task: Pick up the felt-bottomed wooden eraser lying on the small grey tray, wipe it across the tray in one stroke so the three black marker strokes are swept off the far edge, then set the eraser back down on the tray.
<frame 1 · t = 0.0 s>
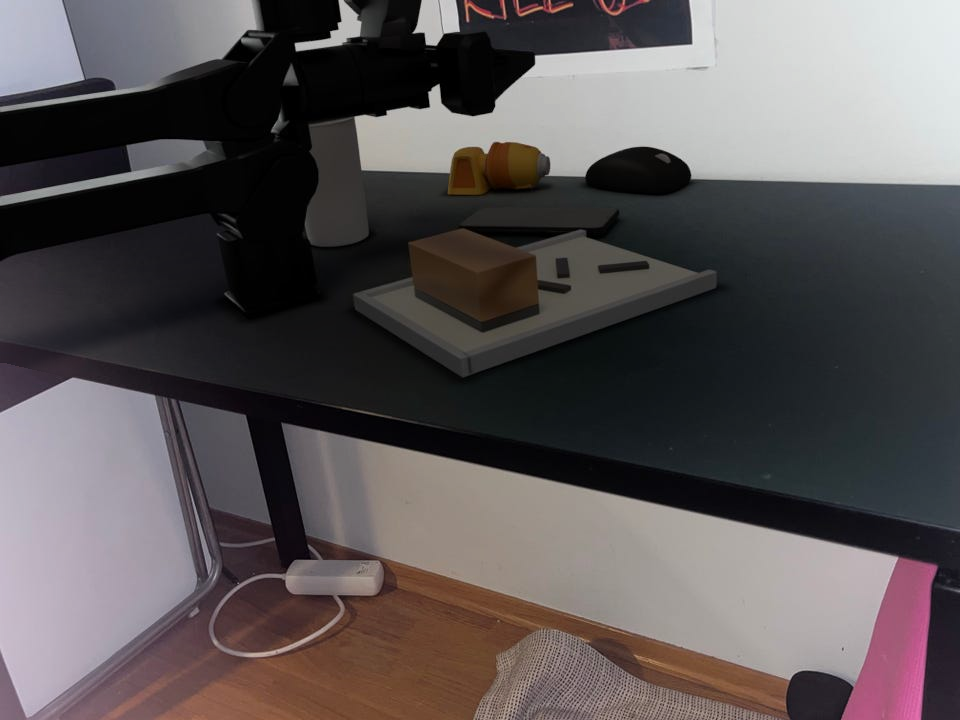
hand: (504, 56, 79), 17 cm above the table, tool horizontal, fingers open, 9 cm apart
grey tray: (534, 298, 69), on the table
computer mouse: (634, 186, 99), on the table
smartphone: (538, 227, 87), on the table
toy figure: (500, 191, 102), on the table
mark 2: (562, 270, 72), point 1 cm above the table, touching grey tray
mark 3: (623, 269, 70), point 1 cm above the table, touching grey tray
mug: (327, 238, 90), on the table
eraser: (474, 305, 66), point 1 cm above the table, touching grey tray
mark 1: (546, 288, 68), point 1 cm above the table, touching grey tray
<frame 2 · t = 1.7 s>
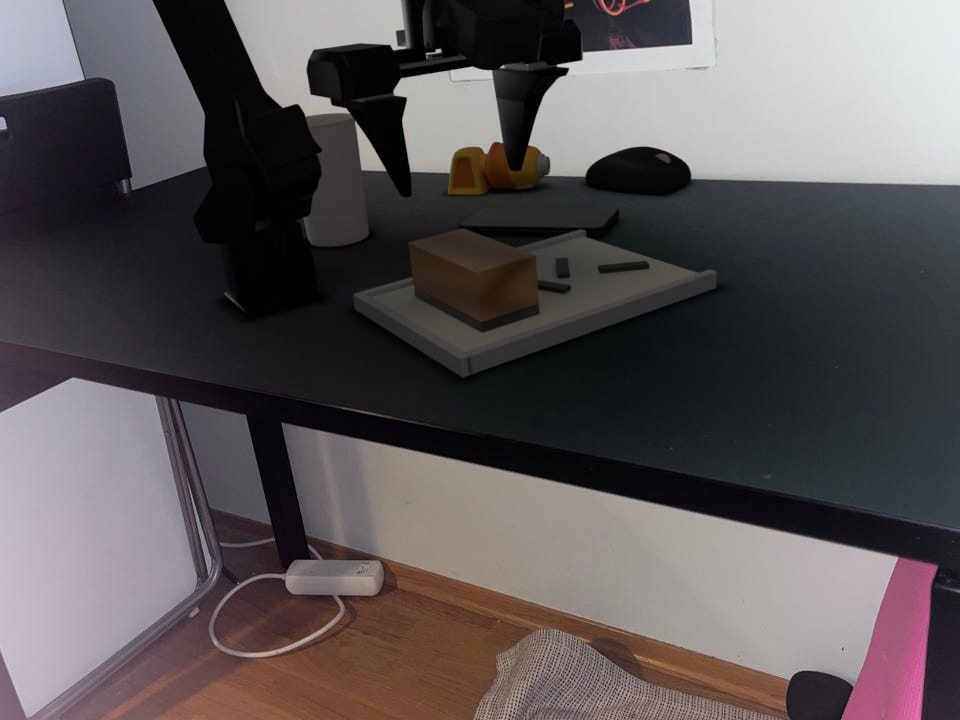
hand: (462, 183, 62), 10 cm above the table, tool pointing down, fingers open, 9 cm apart
nothing on the table moved.
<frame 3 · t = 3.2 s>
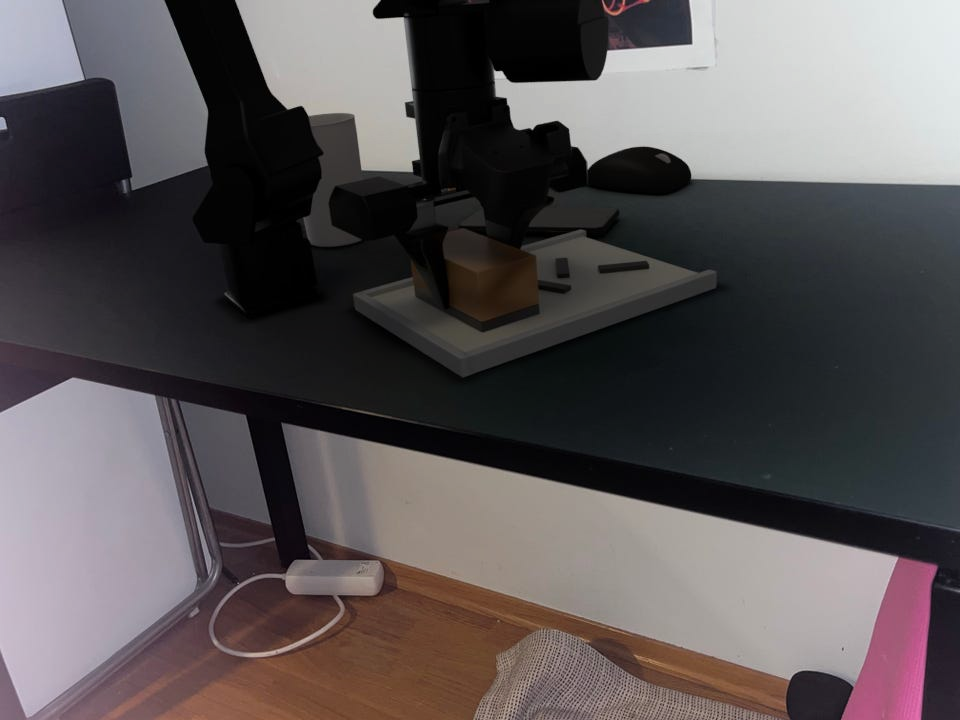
hand: (473, 298, 66), 2 cm above the table, tool pointing down, fingers closed on eraser, 5 cm apart
eraser: (474, 305, 66), point 1 cm above the table, touching gripper, grey tray
everything else where it was.
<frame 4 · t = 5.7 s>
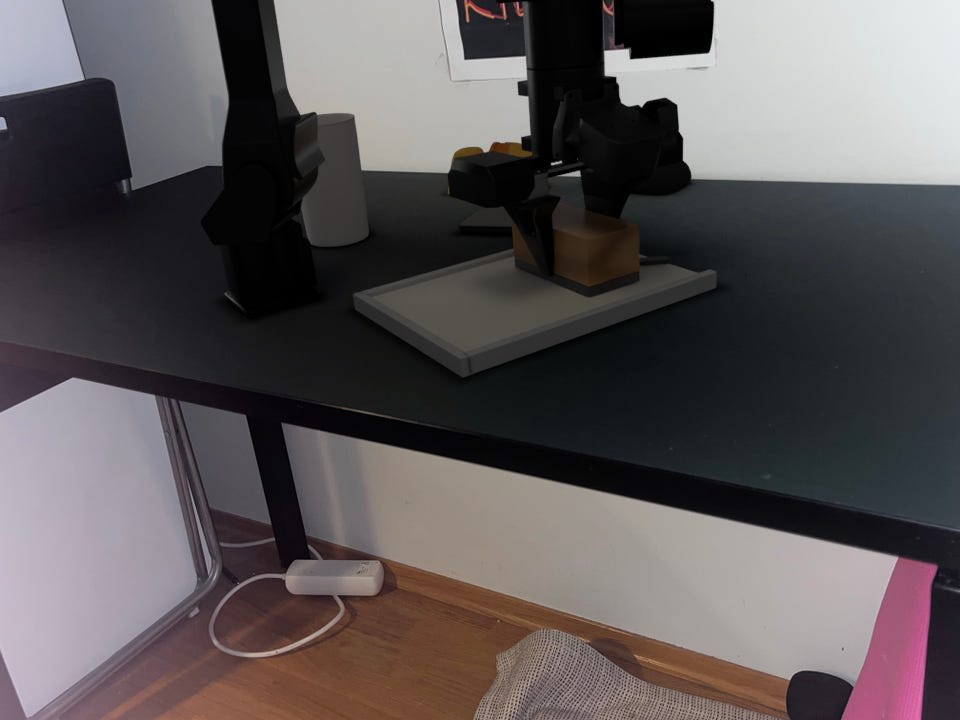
hand: (574, 267, 70), 2 cm above the table, tool pointing down, fingers closed on eraser, 5 cm apart
mark 2: (595, 257, 74), point 1 cm above the table, touching mark 1
mark 3: (642, 263, 71), point 1 cm above the table
eraser: (574, 273, 70), point 1 cm above the table, touching gripper, mark 1
mark 1: (613, 268, 71), point 1 cm above the table, touching eraser, mark 2
everything else where it was.
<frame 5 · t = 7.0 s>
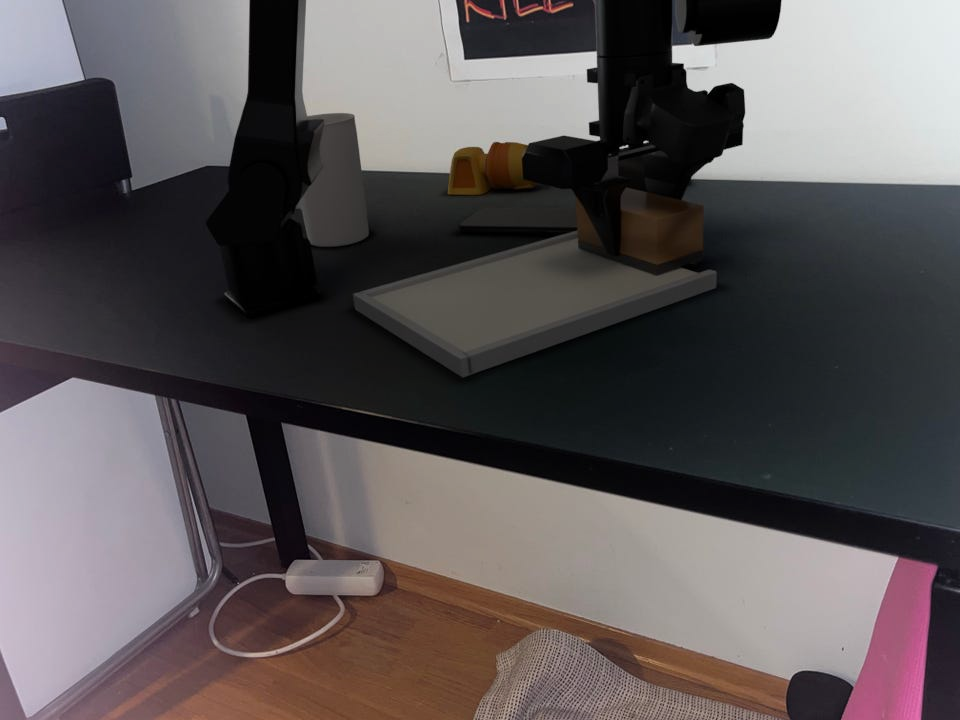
hand: (637, 248, 73), 2 cm above the table, tool pointing down, fingers closed on eraser, 5 cm apart
mark 2: (628, 251, 76), on the table, tilted 90°
mark 3: (674, 259, 74), on the table, tilted 180°
eraser: (638, 253, 73), point 1 cm above the table, touching gripper
mark 1: (658, 267, 73), on the table
everything else where it was.
when the fingers open (1 cm above the table, at t = 12.7 s): eraser stays where it is, resting on grey tray.
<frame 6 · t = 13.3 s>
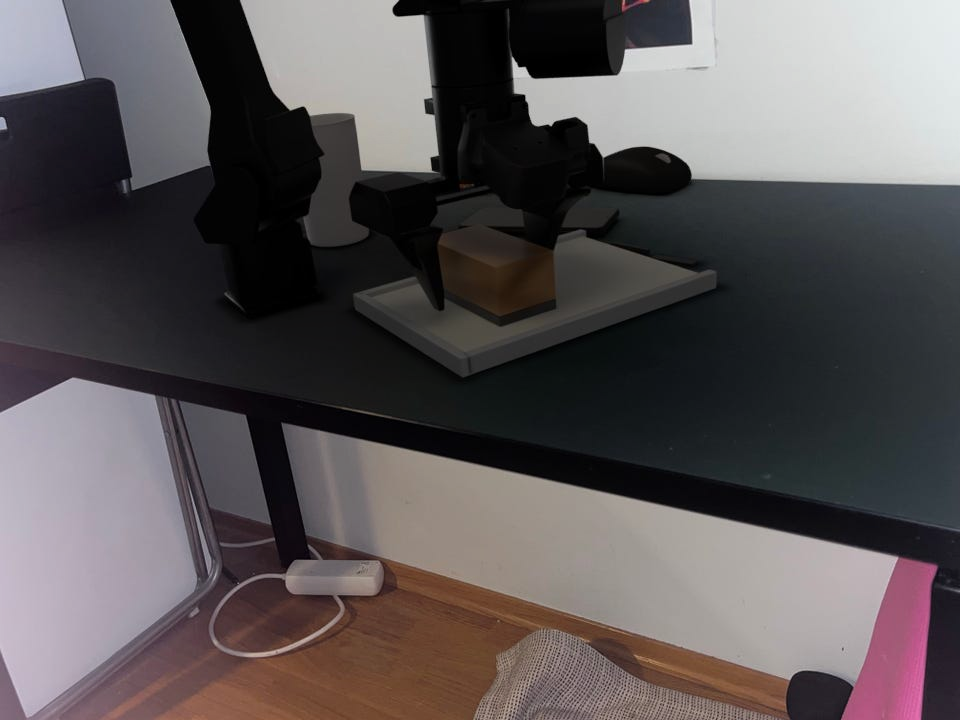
hand: (490, 293, 67), 2 cm above the table, tool pointing down, fingers open, 9 cm apart
eraser: (491, 300, 67), point 1 cm above the table, touching grey tray
everything else where it was.
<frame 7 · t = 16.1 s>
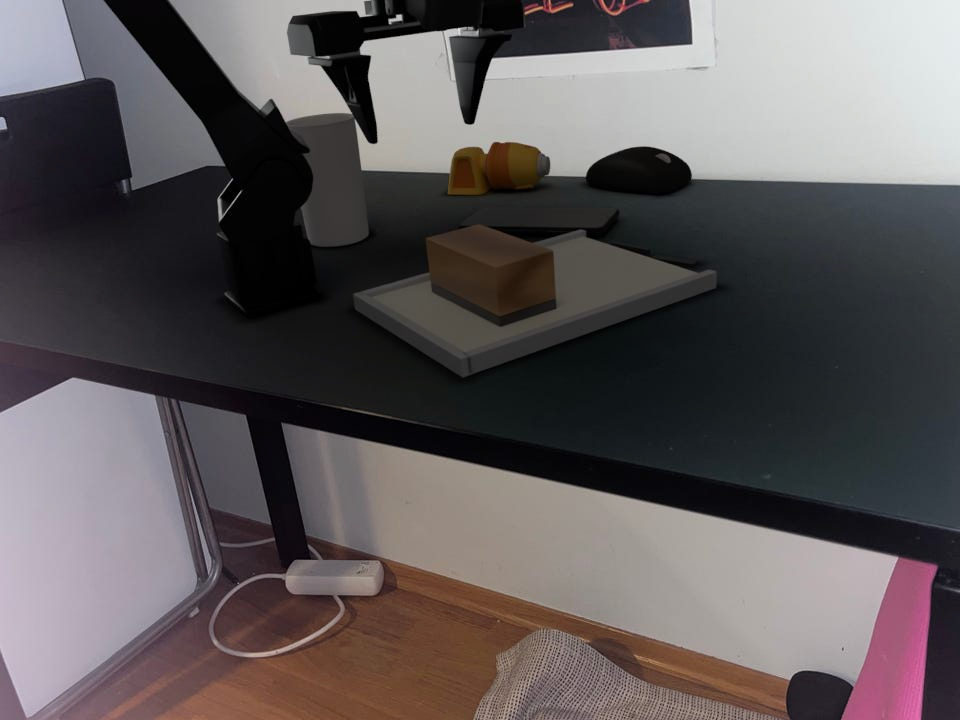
hand: (422, 133, 73), 12 cm above the table, tool pointing down, fingers open, 9 cm apart
nothing on the table moved.
at the end: mark 1 on the table; mark 2 point 0.5 cm above the table; mark 3 on the table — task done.
